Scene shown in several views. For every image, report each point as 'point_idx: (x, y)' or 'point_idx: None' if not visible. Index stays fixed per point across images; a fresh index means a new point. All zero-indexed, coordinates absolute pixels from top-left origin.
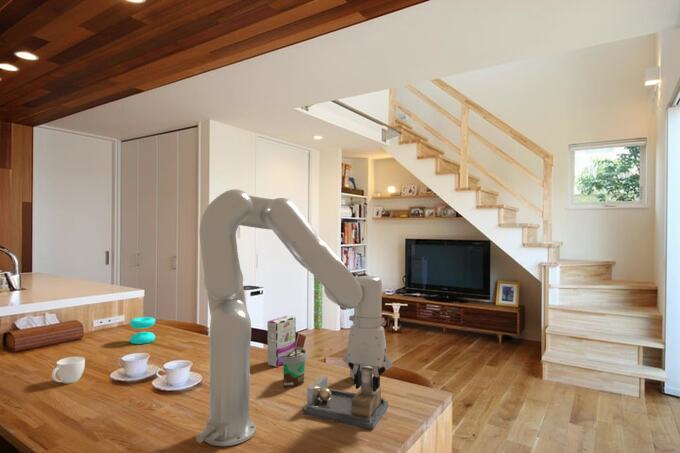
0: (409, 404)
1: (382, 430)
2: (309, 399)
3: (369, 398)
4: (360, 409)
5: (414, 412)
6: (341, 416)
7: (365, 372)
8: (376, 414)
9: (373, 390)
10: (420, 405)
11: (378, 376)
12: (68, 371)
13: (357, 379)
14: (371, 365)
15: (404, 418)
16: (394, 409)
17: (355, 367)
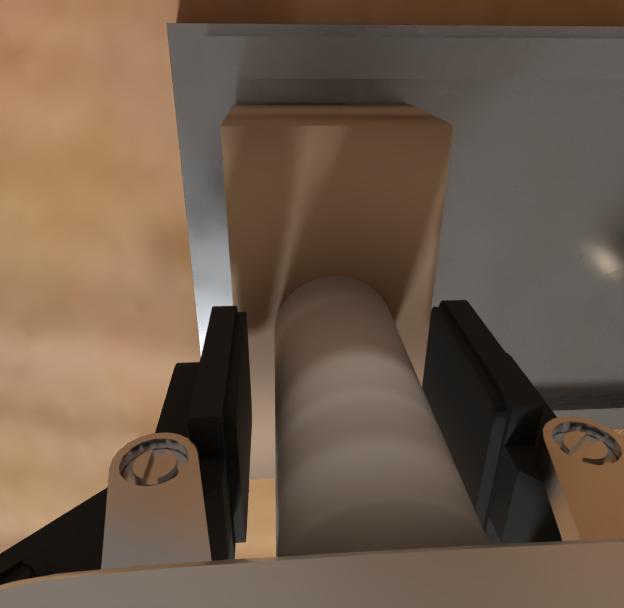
0: (99, 490)
1: (98, 46)
2: None
3: (263, 229)
4: (328, 111)
5: (18, 412)
6: (490, 36)
7: (376, 457)
8: (208, 208)
9: (228, 308)
10: (30, 505)
11: (122, 449)
12: None
13: (480, 363)
14: (185, 574)
15: (37, 308)
16: (159, 397)
17: (615, 506)
